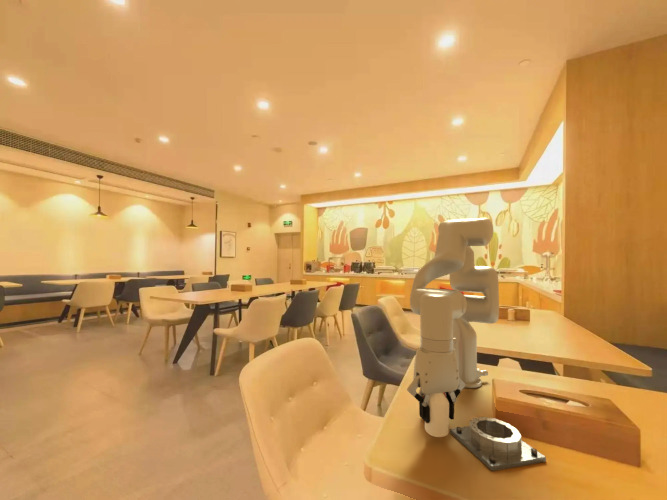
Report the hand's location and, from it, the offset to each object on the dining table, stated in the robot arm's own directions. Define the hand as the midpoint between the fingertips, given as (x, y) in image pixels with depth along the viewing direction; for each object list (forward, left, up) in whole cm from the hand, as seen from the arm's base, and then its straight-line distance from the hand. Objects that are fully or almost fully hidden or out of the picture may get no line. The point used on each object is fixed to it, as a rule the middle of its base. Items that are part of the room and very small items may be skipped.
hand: (436, 417), depth 71 cm
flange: (-12, +5, -6) cm, 14 cm away
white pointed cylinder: (0, 0, -3) cm, 3 cm away
